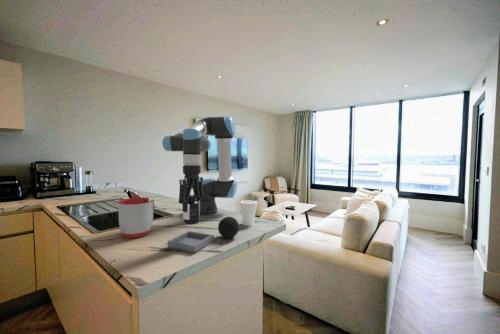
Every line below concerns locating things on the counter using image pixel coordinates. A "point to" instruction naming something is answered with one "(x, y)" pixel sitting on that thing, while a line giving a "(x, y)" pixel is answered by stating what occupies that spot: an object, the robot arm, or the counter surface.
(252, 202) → the foam cup
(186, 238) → the tray
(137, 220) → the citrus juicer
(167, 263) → the counter surface
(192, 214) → the supplement bottle
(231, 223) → the speaker
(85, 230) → the counter surface
